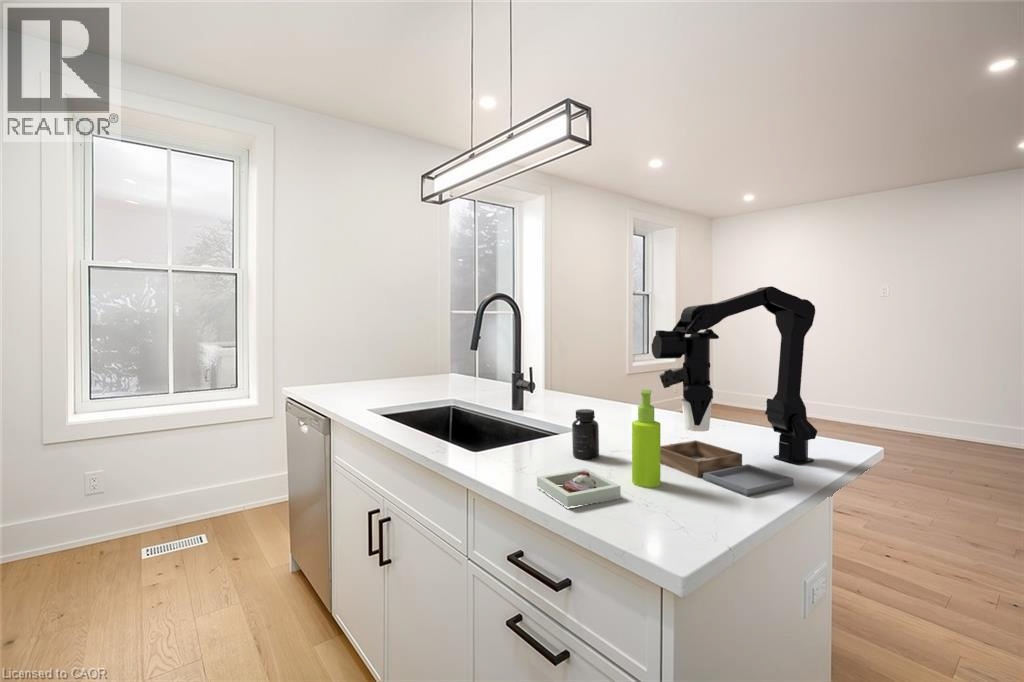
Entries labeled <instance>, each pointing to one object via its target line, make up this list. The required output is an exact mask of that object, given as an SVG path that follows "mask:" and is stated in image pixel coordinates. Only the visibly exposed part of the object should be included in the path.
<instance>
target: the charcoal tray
mask: <svg viewBox="0 0 1024 682" xmlns="http://www.w3.org/2000/svg"><path fill="white" fill-rule="evenodd" d="M702 479H703V481H705V482H707V483H710V484H714V485H716V486H719V487H721V488H724V489H726V490H730V491H732V492H734V493H736V494H739V495H741V496H745V497H752V496H755V495H760V494H764V493H769V492H772V491H775V490H776V491H777V490H781V489H785V488H789V487H794V484H795V482H794V478H793V477H791V476H790V477H789V476H787V475H784V474H780V473H777V472H775V471H771V470H767V469H765V468H761V467H759V466H756V465H751V464H748V463H746V464H742V465H741V466H736V467H731V468H726V469H721V470H716V471H711V472H706V473H703V477H702Z"/></svg>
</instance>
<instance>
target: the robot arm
mask: <svg viewBox="0 0 1024 682" xmlns="http://www.w3.org/2000/svg"><path fill="white" fill-rule="evenodd" d="M761 306H763V307H764V308H765V310H766V311H767V312H769V313H771V314H773V315H774V316H775V325H776V327H777V330H778V331H779V333H780V349H779V361H778V376H777V387H776V388H777V389H776V390H777V391H776V394H774V397H772V398H767V399H766V402H765V403H766V410H765V413H764V414H765V415H766V418H767V421H768V422H769V423H770V425H771V426H772V430H773V432H775V433H778V434H779V435H778V437H779V441H778V454H777V455H776V454H775V455H773V456H772V457H773V458H774V459H777V460H780V461H784V462H787V463H790V464H795V465H802V464H806V463H807V464H808V463H811V462H815V459H814V458H813V457H809V441H810V440H815V439H816V437H817V434H818V430H817V429H816V428H815V427H814V425H813V424H812V423H811V422H810V421H808V417H807V416H808V415H807V407H806V405H805V403H804V401H803V399H802V396H801V389H802V388H801V385H802V374H803V363H804V362H803V361H804V360H803V359H804V349H805V347H804V345H805V339H806V338H805V337H806V336H807V334H808V332H809V331H810V330H811V328H812V327H813V324H814V321H815V317H816V306H815V305H814V304H813V303H812V302H811V301H810V300H808V299H805V298H800V297H798V296H797V295H796V296H795V295H794V294H791V293H788V292H785V291H782V290H781V289H779V288H777V287H775V286H772V285H771V286H764V287H758V288H757V289H754V290H751V291H749V292H746V293H742V294H740V295H735V296H733V297H730V298H728V299H724V300H720V301H718V302H714V303H707V304H698V305H691V306H687V307H684V309H683V310H682V312H681V314H680V319H679V320H678V321H677V323H676V325H675V326H674V327H673V328H672V330H661V329H656V330H655V336H653V339H652V343H651V352H652V353H651V354H652V356H653V357H654V358H655V359H656V360H664V359H665V360H666V359H681V358H682V357H683V358H684V359H683V362H682V367H679V368H676V369H672V368H670V369H667V370H664V373H661V374H659V378H660V381H661V384H662V386H663V388H664V389H666V388H667V389H668V388H670V387H671V386H673V385H678V384H680V383H682V384H683V385H682V392H683V393H682V398H683V399H685V400H687V401H688V402H689V403H690V405H691V410H692V414H693V419H694V424H695V425H698V426H699V425H700V423H701V421H702V419H703V417H704V414H705V412H706V410H707V408H708V406H709V404H710V401H712V400H713V399H714V390H713V388H712V387H711V380H710V379H711V377H710V375H711V373H710V371H711V362H710V361H711V356H710V354H711V347H710V346H711V343H710V342H711V340H717V339H720V336H719V335H718V334H717V333H715V332H714V330H713V329H712V327H714V326H716V325H718V324H720V322H722V321H723V320H724V319H726V318H728V317H730V316H734V315H737V314H739V313H743V312H746V311H749V310H752V309H755V308H757V307H761ZM710 328H711V329H710ZM700 331H701V332H700ZM686 335H690V336H686Z"/></svg>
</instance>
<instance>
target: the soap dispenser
mask: <svg viewBox="0 0 1024 682" xmlns="http://www.w3.org/2000/svg"><path fill="white" fill-rule="evenodd" d="M651 393H652V390H651V389H642V390H641V392H640V394H641V404H639V405H638V406H637V420H632V421H631V470H632V471H631V479H632V480H631V482H632V484H633V485H635V486H638V487H641V488H657V487H660V485H661V463H660V446H661V422H659V421H655V406H654V405H652V404H651V395H652V394H651Z"/></svg>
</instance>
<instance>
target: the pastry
mask: <svg viewBox="0 0 1024 682" xmlns="http://www.w3.org/2000/svg"><path fill="white" fill-rule="evenodd" d="M595 484H596V482H595V481H594V480H593V478H592V477H590V475H589V472H586V471H582V472H580V473H578V475H577V476H576V478H574V479H571V480H569V481H567V482H566V483H565V484H564V485H563V486H561V488H562V489H564V490H565V491H567V492H569V493H573V492H578V491H583V490H588V489H594V488H597V487H596V486H595Z"/></svg>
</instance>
